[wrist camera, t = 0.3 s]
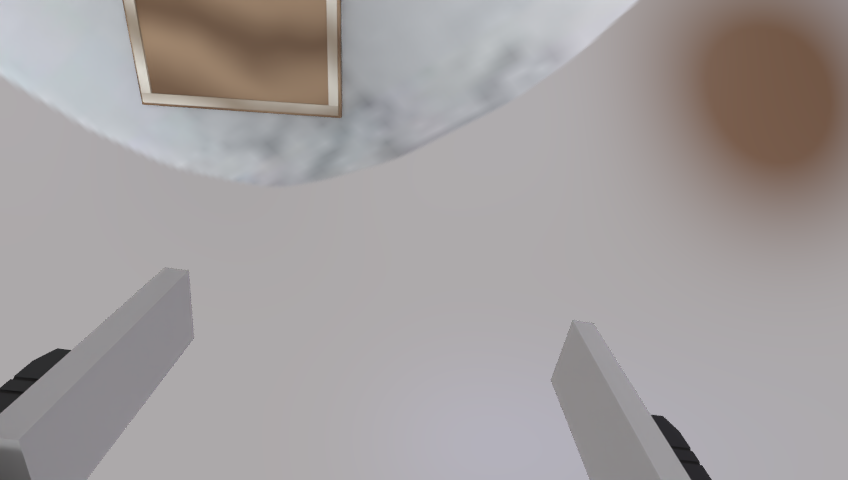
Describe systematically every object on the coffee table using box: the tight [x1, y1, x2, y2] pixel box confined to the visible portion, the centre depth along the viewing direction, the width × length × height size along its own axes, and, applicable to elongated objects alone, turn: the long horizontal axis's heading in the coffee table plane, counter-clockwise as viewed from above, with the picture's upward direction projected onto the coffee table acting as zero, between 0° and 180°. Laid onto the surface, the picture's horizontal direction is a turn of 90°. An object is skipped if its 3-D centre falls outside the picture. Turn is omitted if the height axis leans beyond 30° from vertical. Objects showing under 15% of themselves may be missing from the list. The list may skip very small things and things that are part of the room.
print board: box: [123, 0, 342, 118], centre depth 35 cm, size 13×17×1 cm
